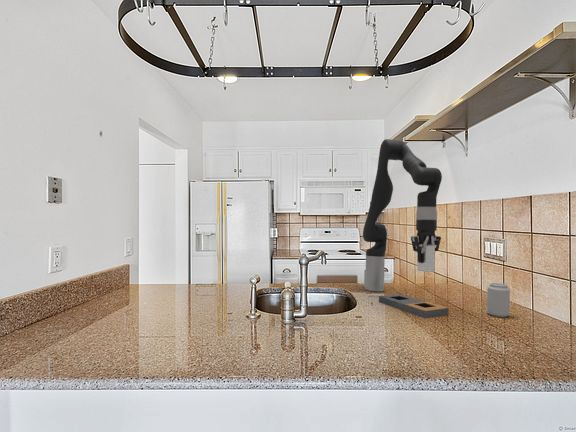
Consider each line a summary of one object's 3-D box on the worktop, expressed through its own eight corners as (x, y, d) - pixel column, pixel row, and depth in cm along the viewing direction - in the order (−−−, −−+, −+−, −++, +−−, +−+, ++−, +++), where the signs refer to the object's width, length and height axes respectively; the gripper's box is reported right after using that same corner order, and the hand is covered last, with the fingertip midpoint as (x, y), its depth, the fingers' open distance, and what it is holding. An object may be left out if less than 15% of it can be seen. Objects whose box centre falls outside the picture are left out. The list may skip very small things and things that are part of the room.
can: (482, 313, 141) (483, 282, 141) (495, 311, 144) (495, 281, 144) (500, 318, 134) (501, 286, 134) (513, 316, 137) (514, 285, 137)
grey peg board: (378, 301, 157) (378, 295, 157) (400, 299, 162) (400, 293, 162) (425, 317, 133) (425, 310, 133) (448, 314, 138) (448, 307, 138)
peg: (416, 270, 142) (417, 244, 142) (425, 269, 144) (425, 244, 144) (425, 272, 138) (426, 245, 138) (434, 271, 140) (434, 245, 140)
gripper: (432, 218, 148) (431, 260, 148) (405, 218, 141) (404, 262, 141) (447, 219, 141) (446, 263, 141) (420, 218, 135) (419, 264, 135)
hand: (425, 262), depth 141 cm, fingers closed on peg, 4 cm apart
